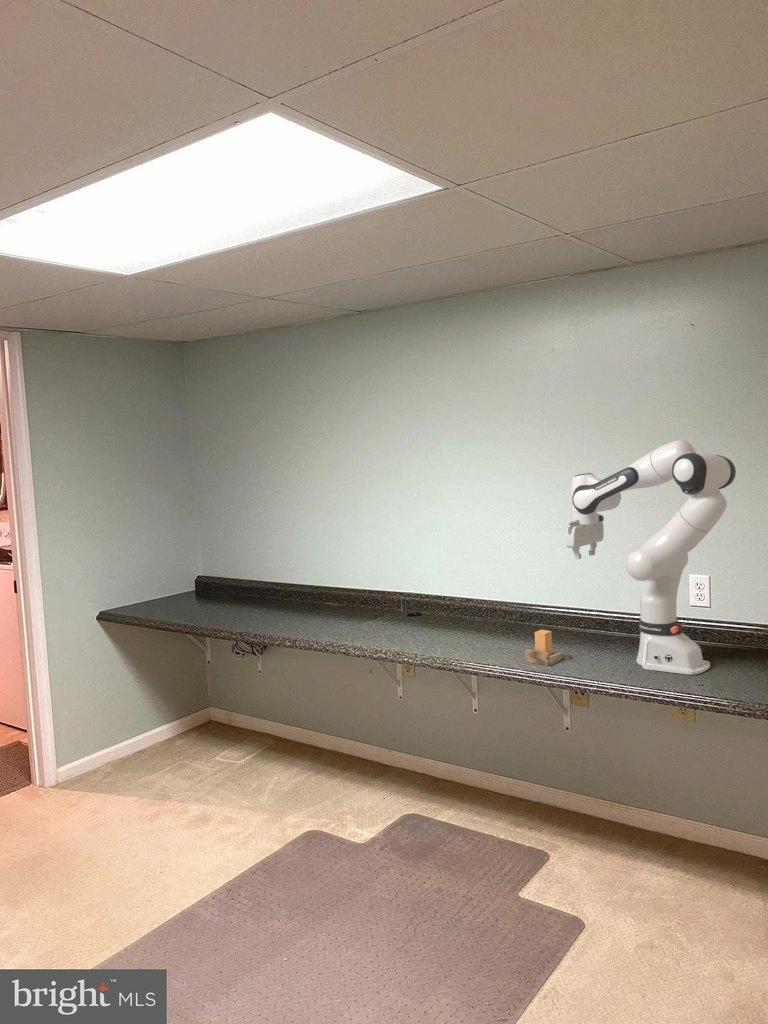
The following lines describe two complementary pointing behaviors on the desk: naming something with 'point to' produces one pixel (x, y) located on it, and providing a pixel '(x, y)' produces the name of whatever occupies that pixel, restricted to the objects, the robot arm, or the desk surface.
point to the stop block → (543, 641)
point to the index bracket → (542, 657)
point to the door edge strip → (564, 655)
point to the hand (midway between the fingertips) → (585, 557)
